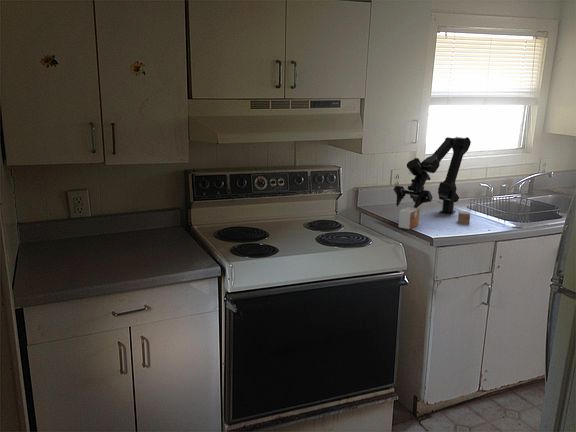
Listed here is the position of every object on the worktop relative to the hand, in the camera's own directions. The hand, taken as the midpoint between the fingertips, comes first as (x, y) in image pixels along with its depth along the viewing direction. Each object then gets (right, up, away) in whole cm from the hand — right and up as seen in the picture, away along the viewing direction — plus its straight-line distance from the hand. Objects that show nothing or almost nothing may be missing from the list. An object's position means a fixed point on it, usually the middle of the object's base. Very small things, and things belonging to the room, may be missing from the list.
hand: (405, 207), depth 256 cm
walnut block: (+28, -7, +3) cm, 30 cm away
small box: (+3, -4, -3) cm, 6 cm away
